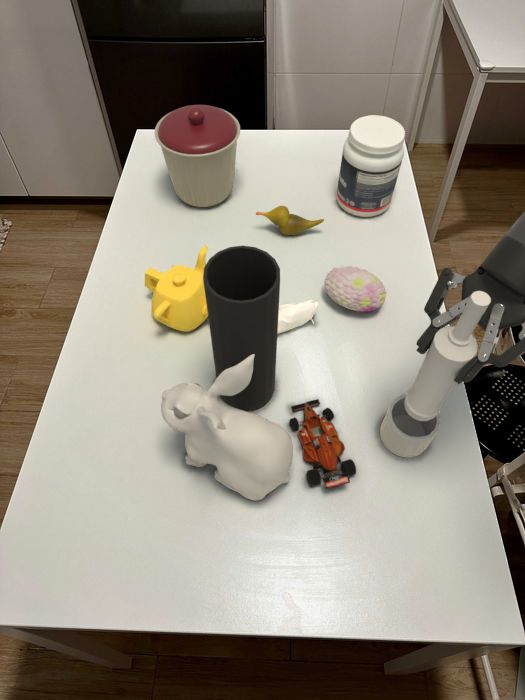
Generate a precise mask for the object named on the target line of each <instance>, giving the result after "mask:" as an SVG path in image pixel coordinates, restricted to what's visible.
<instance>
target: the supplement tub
mask: <svg viewBox="0 0 525 700" xmlns="http://www.w3.org/2000/svg"><path fill="white" fill-rule="evenodd" d="M405 138H406V131H405V128H404V127H403V125H402V124H401V123H400V122H398V121H397V120H396V119H393V118H391V117H389V116H384V115H378V114H371V115H364V116H361V117H359V118H357V119H356V120H354V121H353V122H352V123H351V125H350V128H349V131H348V136H347V137H346V139H345V141H344V143H343V147H342V154H341V160H340V167H339V173H338V174H339V175H338V181H337V188H336V191H335V196H336V202H337V203H338V205H339V207H340V208H341V209H343V210H344V211H345V212H346V213H348V214H350V215H353V216H356V217H363V218H371V217H376V216H378V215H381V214H383V213H384V212H385V211H386V210H387V209H388V208H389V207H390V205H391V203H392V200H393V196H394V192H395V188H396V184H397V181H398V178H399V174H400V170H401V167H402V163H403V159H404V155H405V148H404V144H405Z"/></svg>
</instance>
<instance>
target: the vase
mask: <svg viewBox="0 0 525 700" xmlns="http://www.w3.org/2000/svg"><path fill="white" fill-rule="evenodd" d="M203 281H204V289H205V296H206V304H207V311H208V317H207V319H208V324H209V325H208V326H209V332H210V333H209V334H210V340H211V347H212V355H213V363H214V370H215V380H216V379H217V377H218V376H219V375H220V374H221V373H222V372H223V371H224V370H226V369H228V368H231V367H233V366H235V365H237V364H239V363H240V362H242V361H243V360H245V359H246V358H247V357H249V356H250V355H252V354H255V356H254V363H253V373H252V377H251V380H250V383H249V384H248V386H247V387H246V388H245V389H244V390H242V391H241V392H239V393H237V394H235V395H233V396H226V395H219V396H220V397H219V398H220V399H221V400H222V401H223V402H225V403H226V404H228V405H229V406H231V407H234V408H237V409H240V410H243V411H246V412H251V411H257V410H259V409H260V408H263V407H264V406H266V405H267V404H268V403H269V402H270V400H271V399H272V398H273V396H274V393H275V390H276V389H275V388H276V369H277V368H276V367H277V350H278V334H277V332H278V313H279V306H280V291H281V290H280V289H281V268H280V266H279V264H278V262H277V259H275V258H274V257H273V256H272V255H271V254H270V253H268V252H267V251H266V250H263V249H260V248H259V247H256V246H249V245H236V246H235V245H234V246H229V247H227V248H226V247H225V248H224V249H221V250H219V251H217V252H216V253H215V254H214V255H212V256H211V257H210V258H209V259H208V260H207V262H206V266H205V267H204V274H203Z"/></svg>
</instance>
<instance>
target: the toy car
mask: <svg viewBox="0 0 525 700" xmlns="http://www.w3.org/2000/svg"><path fill="white" fill-rule="evenodd" d="M319 405H321V402H320V400H319V399H318V398H317V399H312V400H309V401H307V402H303V403H299V404H295V405H292V406H291V410H292V412H298V411H301V410H303V415H304V420H302V421H298V419H297V417H292V418H289V426H290V428H291V429H292V431H294V432H296V431H298V432H297V434H298V438H299V442H300V444H301V446H302V449H303V451H302V456H303V459H304V461H306V462H308V463H311V465H312V469H309V470H307V471H306V479H307V483H308V484H309V486H310V487H313V486H318V485H321V484H322V482H323V485H324V488H325V490H328V489H331V488H335V487H338V486H339V487H340V486H342V485H346V484H350V483H351V480H350V478H349V477H351V476H355V475H356V474H357V467H356V464H355V462H354V461H353V460H352V459H350V458H349V459H346V460H342V459H341V458H340V455H341V454H342V453H343V452H345V449H346V447H345V444H344V442H343V441H342V440H340V437H339V433H338V431H337V429H336V427H335V425H334V423H333V422H332V420H333V419H334V418H335V414H334V412H333V411H332V409H331V408H330V407H326V408H324V409H323V410H322V414H323V415H322V416H321V415H320V414H319V413H318V414H317V413H316V411H315V410H314V409H313V408H312V407H316V406H319ZM320 416H321V417H320ZM326 420H327V421H326ZM299 423H301V427H304V428H302V429H300V424H299ZM299 429H300V430H299ZM338 462H339V464H340V465H339V466H340V468H341V469H339V467H338ZM320 467H323V468H324V469H325V471H324V472H323V474H321V468H320Z"/></svg>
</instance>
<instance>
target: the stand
mask: <svg viewBox="0 0 525 700" xmlns="http://www.w3.org/2000/svg"><path fill="white" fill-rule="evenodd" d="M406 394H407V393H405V394H402V395H398V396H396V398H395V399H393V400H392V401H391V402H390V404H389V406H388V408H387V411H386V413H385V415H384V417H383V420H382V422H381V424H380V428H379V437H380V440H381V442H382V444H383V445H384V447H385V448H386V449H387V450H388V451H389V452H390V453H392V454H394V455H395V456H397V457H400V458H415V457H418V456H419V455H421V454H422V453H424V452H425V450H426V449H427V448H428V447H429V446H430V444H431V442H432V441H433V440H434V438H435V436H436V435H437V433H439V431H440V430H439V429H440V427H441V423H442V422H441V415H440V412H439V413H438V414H437V415H436V416H435V417H434V418H433V419H431V420H428V421H419V420H416V419H414V418H412V417H411V416H410V415H409V414H408V413H407V411H406V409H405V404H404V401H405V398H406Z"/></svg>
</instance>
